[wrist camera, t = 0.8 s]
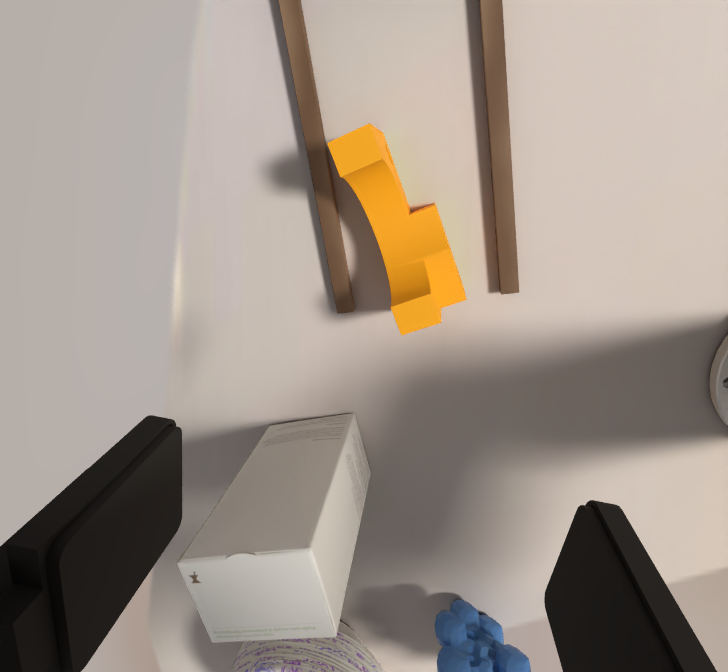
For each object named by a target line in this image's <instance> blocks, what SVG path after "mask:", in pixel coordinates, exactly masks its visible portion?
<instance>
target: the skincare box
mask: <svg viewBox="0 0 728 672" xmlns="http://www.w3.org/2000/svg"><path fill="white" fill-rule="evenodd" d="M370 476H371V472H370V468H369V464H368V460H367V457H366V453H365V449H364V446H363V442H362V438H361V435H360V431H359V428H358V424H357V420H356V416H355V413H350V414H344V415H337V416H330V417H323V418H316V419H309V420H302V421H296V422H289V423H283V424H276V425H270V426H269V427H268V429H267V430H266V432H265V433H264V435H263V436H262V438H261V439H260V441H259V442H258V444H257V445H256V447H255V448H254V450H253V451H252V453H251V454H250V456H249V457H248V459H247V460H246V462H245V463H244V465H243V466H242V468H241V469H240V471H239V472H238V474H237V475H236V477H235V478H234V480H233V481H232V483H231V484H230V486H229V487H228V489H227V490H226V492H225V493H224V495H223V496H222V498H221V499H220V501H219V502H218V504H217V505H216V507H215V508H214V510H213V511H212V513H211V514H210V516H209V517H208V519H207V520H206V522H205V523H204V525H203V526H202V528H201V529H200V531H199V532H198V533H197V535H196V536H195V538H194V539H193V541H192V542H191V544H190V545H189V547H188V548H187V549H186V551H185V552H184V553H183V555H182V556H181V557H180V558H179V559H178V561H177V566H178V568H179V570H180V572H181V575H182V577H183V579H184V581H185V583H186V586H187V588H188V590H189V592H190V594H191V597H192V599H193V601H194V603H195V605H196V608H197V610H198V612H199V615H200V617H201V619H202V622H203V624H204V626H205V628H206V631H207V633H208V635H209V637H210V639H211V641H212V643H217V642H236V641H256V640H276V639H299V638H325V637H336V636H337V630H338V626H339V621H340V617H341V612H342V607H343V602H344V597H345V592H346V588H347V583H348V578H349V574H350V569H351V564H352V560H353V555H354V550H355V545H356V541H357V536H358V532H359V527H360V522H361V518H362V513H363V508H364V504H365V499H366V494H367V489H368V484H369V480H370Z"/></svg>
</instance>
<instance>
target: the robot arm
mask: <svg viewBox="0 0 728 672" xmlns="http://www.w3.org/2000/svg"><path fill="white" fill-rule="evenodd" d="M709 383H710V393H711V399H712V401H713V404H714V407H715V410H716V411H717V413H718V414H719V416H720V417H721V419H722V420H723V422H724V423H725V424H726V425H727V426H728V334H727V336H726V337H725V339H724V341H723V342H722V344H721V346H720V347H719V349H718V350H717V353H716V356H715V358H714V361H713V364H712V367H711V374H710V381H709ZM181 519H182V430H181V428H180V427H176V423H175V421H174V420H172V419H167V418H162V417H157V416H147V417H146V418H145V419H143V420H142V421H141V422H140V423H139V424H138V425H137V426H135V427H134V428H133V429H132V430H131V431H130V432H129V433H128V434H127V435H125V436H124V437H123V438H122V439H121V440H120V441H119V442H118V443H116V444H115V445H114V446H113V447H112V448H111V449H110V450H109V451H108V452H106V453H105V454H104V455H103V456H102V457H101V458H100V459H99V460H97V461H96V462H95V463H94V464H93V465H92V466H91V467H90V468H88V469H87V470H85V471H84V472H83V473H82V474H81V475H80V476H79V477H78V478H77V479H75V480H74V481H73V482H72V483H71V484H70V485H69V486H68V487H66V488H65V489H64V490H63V491H62V492H61V493H60V494H59V495H57V496H56V497H55V498H54V499H53V500H52V501H51V502H50V503H49V504H47V505H46V506H45V507H44V508H43V509H42V510H41V511H40V512H39V513H37V514H36V515H35V516H34V517H33V518H32V519H31V520H30V521H28V522H27V523H26V524H25V525H24V526H23V527H22V528H21V529H19V530H18V531H17V532H16V533H15V534H14V535H13V536H12V537H10V538H9V539H8V540H7V541H6V542H5V543H4V544H3V545H2V546H0V672H81V671H82V670H83V669H84V667H85V666H86V665H87V663H88V662H89V660H90V659H91V657H92V656H93V654H94V653H95V652H96V650H97V649H98V647H99V646H100V644H101V643H102V641H103V640H104V638H105V637H106V635H107V634H108V632H109V631H110V629H111V628H112V627H113V625H114V624H115V622H116V620H117V619H118V618H119V616H120V615H121V613H122V612H123V610H124V609H125V607H126V606H127V604H128V603H129V601H130V600H131V598H132V597H133V596H134V594H135V592H136V591H137V590H138V588H139V587H140V585H141V584H142V582H143V581H144V579H145V578H146V576H147V575H148V573H149V572H150V570H151V569H152V568H153V566H154V565H155V563H156V562H157V560H158V559H159V557H160V556H161V554H162V553H163V551H164V550H165V548H166V547H167V545H168V544H169V542H170V541H171V539H172V538H173V537H174V535H175V534H176V532H177V530H178V528H179V526H180V523H181ZM545 608H546V612H547V616H548V620H549V623H550V626H551V630H552V634H553V637H554V641H555V644H556V648H557V652H558V655H559V658H560V662H561V666H562V669H563V672H717V671H716V669H715V667H714V666H713V664H712V662H711V661H710V659H709V657H708V656H707V654H706V652H705V651H704V649H703V647H702V645H701V644H700V642H699V640H698V639H697V637H696V635H695V633H694V632H693V630H692V628H691V627H690V625H689V623H688V622H687V620H686V618H685V616H684V615H683V613H682V611H681V610H680V608H679V606H678V604H677V603H676V601H675V599H674V598H673V596H672V594H671V593H670V591H669V589H668V587H667V586H666V584H665V582H664V581H663V579H662V577H661V575H660V574H659V572H658V570H657V569H656V567H655V565H654V564H653V562H652V560H651V558H650V557H649V555H648V553H647V552H646V550H645V548H644V547H643V545H642V543H641V541H640V540H639V538H638V536H637V535H636V533H635V531H634V529H633V528H632V526H631V524H630V523H629V521H628V519H627V518H626V516H625V514H624V512H623V511H622V509H621V508H620V507H619V506H617V505H614V504H609V503H604V502H598V501H593V500H591V501H589V502H587V504H586V506H584V505H580V506H579V507H578V509H577V511H576V514H575V516H574V519H573V521H572V524H571V527H570V529H569V532H568V534H567V537H566V539H565V542H564V545H563V547H562V550H561V552H560V555H559V557H558V560H557V563H556V565H555V568H554V570H553V573H552V575H551V578H550V581H549V583H548V586H547V588H546V591H545Z"/></svg>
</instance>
